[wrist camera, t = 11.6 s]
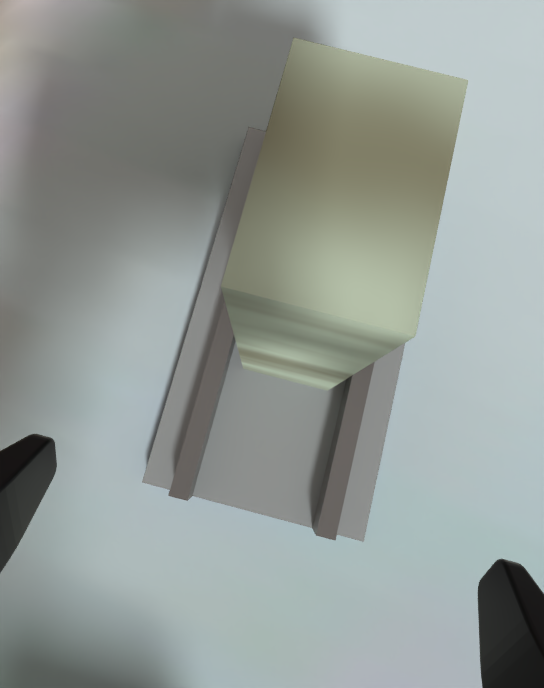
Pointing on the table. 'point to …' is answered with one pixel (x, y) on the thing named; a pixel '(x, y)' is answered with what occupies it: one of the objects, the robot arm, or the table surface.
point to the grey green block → (341, 214)
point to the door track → (268, 415)
